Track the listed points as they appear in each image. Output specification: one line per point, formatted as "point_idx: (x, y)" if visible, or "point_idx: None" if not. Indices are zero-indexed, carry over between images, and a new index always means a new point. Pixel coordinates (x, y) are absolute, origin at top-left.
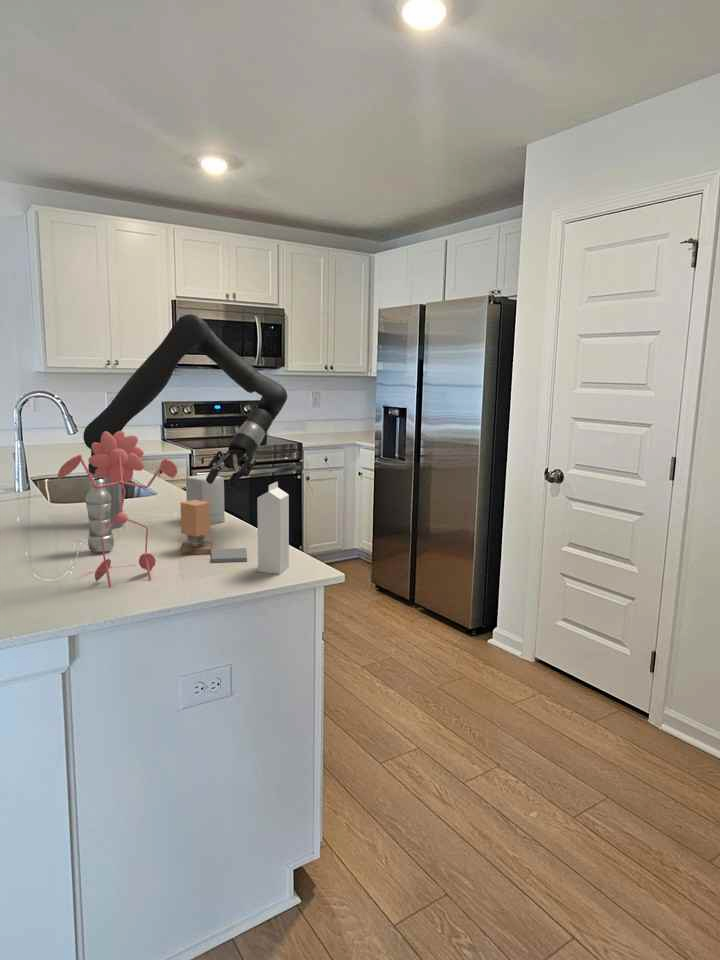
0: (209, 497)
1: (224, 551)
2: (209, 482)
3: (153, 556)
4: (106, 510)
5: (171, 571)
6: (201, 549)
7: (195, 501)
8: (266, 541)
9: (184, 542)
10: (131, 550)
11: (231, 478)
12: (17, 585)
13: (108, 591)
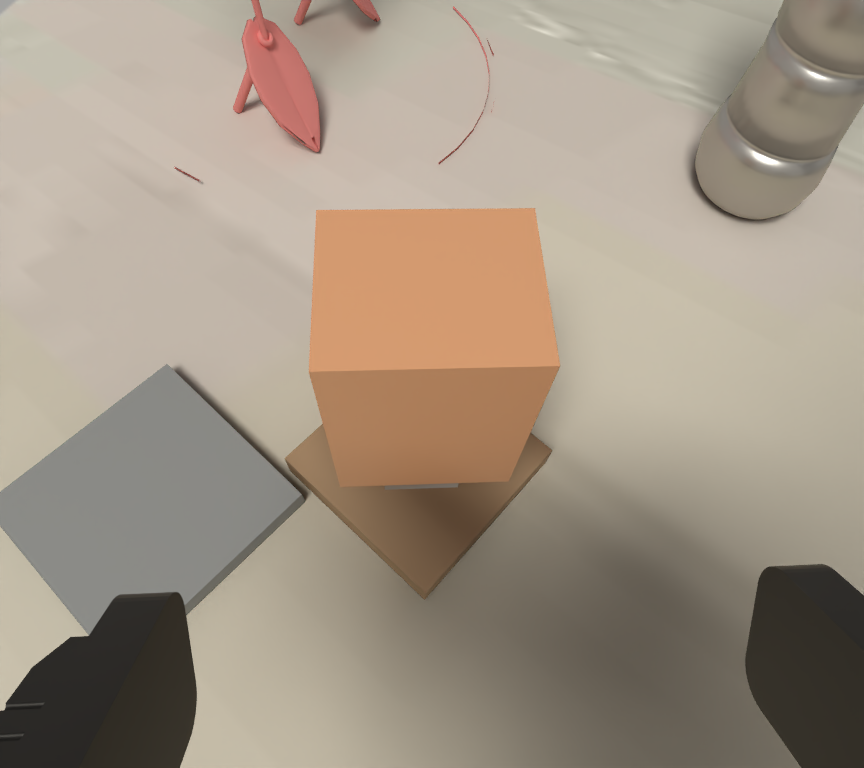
0: None
1: (199, 505)
2: (752, 627)
3: (248, 66)
4: None
5: (248, 201)
6: None
7: (475, 316)
8: None
9: (530, 449)
10: (674, 271)
11: (66, 676)
12: None
13: (269, 6)
